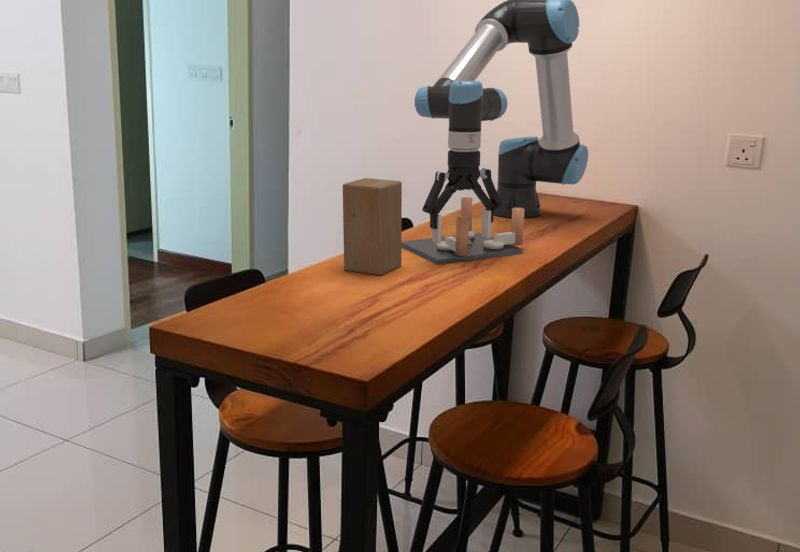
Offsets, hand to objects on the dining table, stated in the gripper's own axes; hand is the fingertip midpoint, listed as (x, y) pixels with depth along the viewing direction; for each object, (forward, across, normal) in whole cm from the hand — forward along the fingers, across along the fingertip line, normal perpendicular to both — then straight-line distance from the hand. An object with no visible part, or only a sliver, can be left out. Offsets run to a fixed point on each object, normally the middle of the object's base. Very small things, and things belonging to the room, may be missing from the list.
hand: (461, 239), depth 190 cm
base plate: (+5, +5, +9) cm, 12 cm away
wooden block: (+6, -22, +3) cm, 23 cm away
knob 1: (+4, 0, +4) cm, 5 cm away
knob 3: (+4, +14, +3) cm, 15 cm away
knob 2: (+3, +12, +18) cm, 22 cm away
